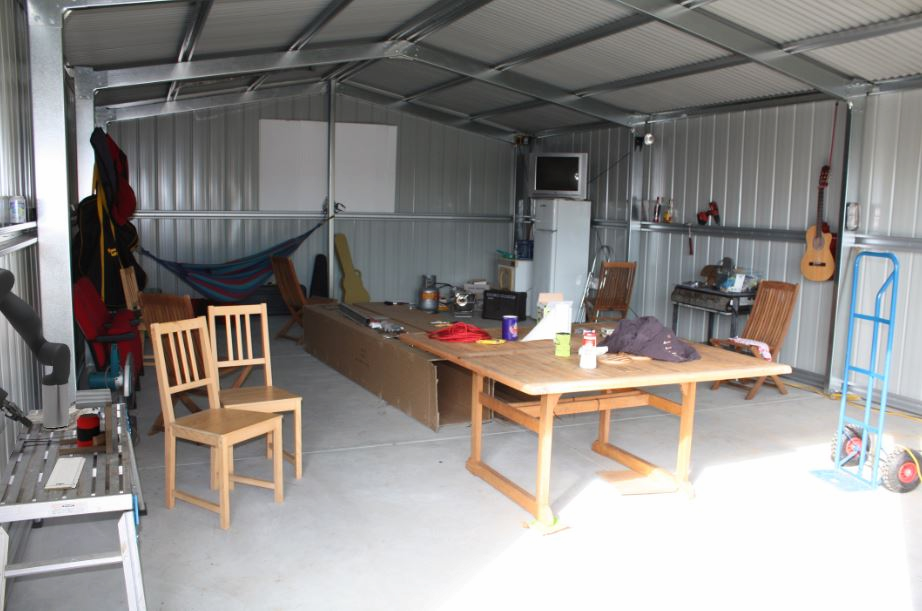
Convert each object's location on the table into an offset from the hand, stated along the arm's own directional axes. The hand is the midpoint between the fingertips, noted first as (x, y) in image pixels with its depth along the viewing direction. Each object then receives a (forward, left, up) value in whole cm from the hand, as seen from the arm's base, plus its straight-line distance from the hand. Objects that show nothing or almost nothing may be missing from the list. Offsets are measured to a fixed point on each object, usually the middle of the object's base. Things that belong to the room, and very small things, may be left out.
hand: (30, 425), depth 274 cm
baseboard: (+22, +22, -11) cm, 33 cm away
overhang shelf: (-7, +17, -10) cm, 21 cm away
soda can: (-6, +17, -10) cm, 21 cm away
